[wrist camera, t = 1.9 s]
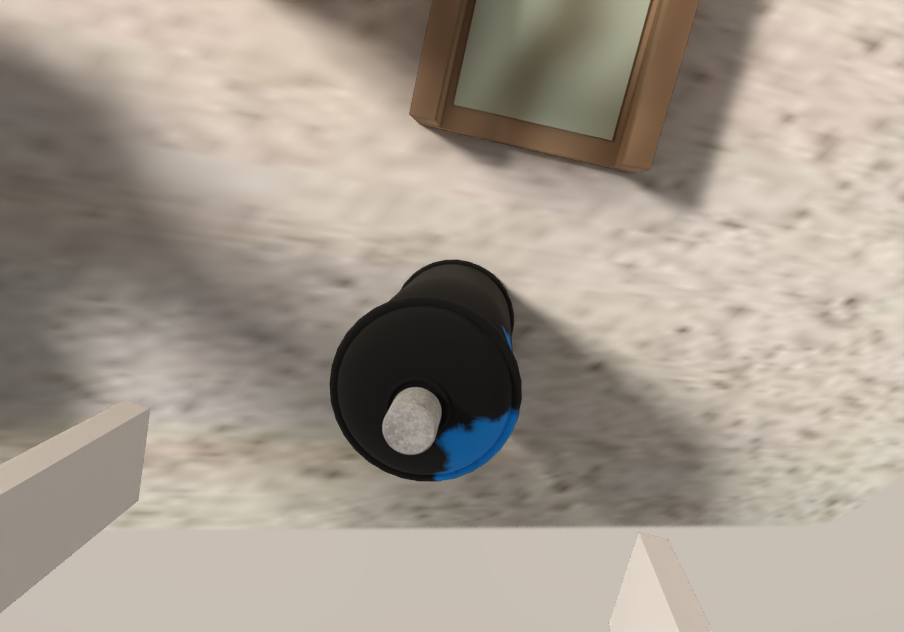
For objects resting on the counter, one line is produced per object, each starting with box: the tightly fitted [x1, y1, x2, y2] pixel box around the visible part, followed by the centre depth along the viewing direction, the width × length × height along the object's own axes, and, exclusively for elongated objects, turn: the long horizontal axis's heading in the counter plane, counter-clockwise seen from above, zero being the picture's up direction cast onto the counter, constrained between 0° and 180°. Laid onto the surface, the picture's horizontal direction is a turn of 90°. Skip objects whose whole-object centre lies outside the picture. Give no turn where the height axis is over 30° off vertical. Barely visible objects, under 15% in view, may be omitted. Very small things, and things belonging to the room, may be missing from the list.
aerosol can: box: [330, 260, 522, 481], centre depth 31 cm, size 8×8×20 cm
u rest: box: [409, 0, 699, 173], centre depth 34 cm, size 14×14×4 cm
